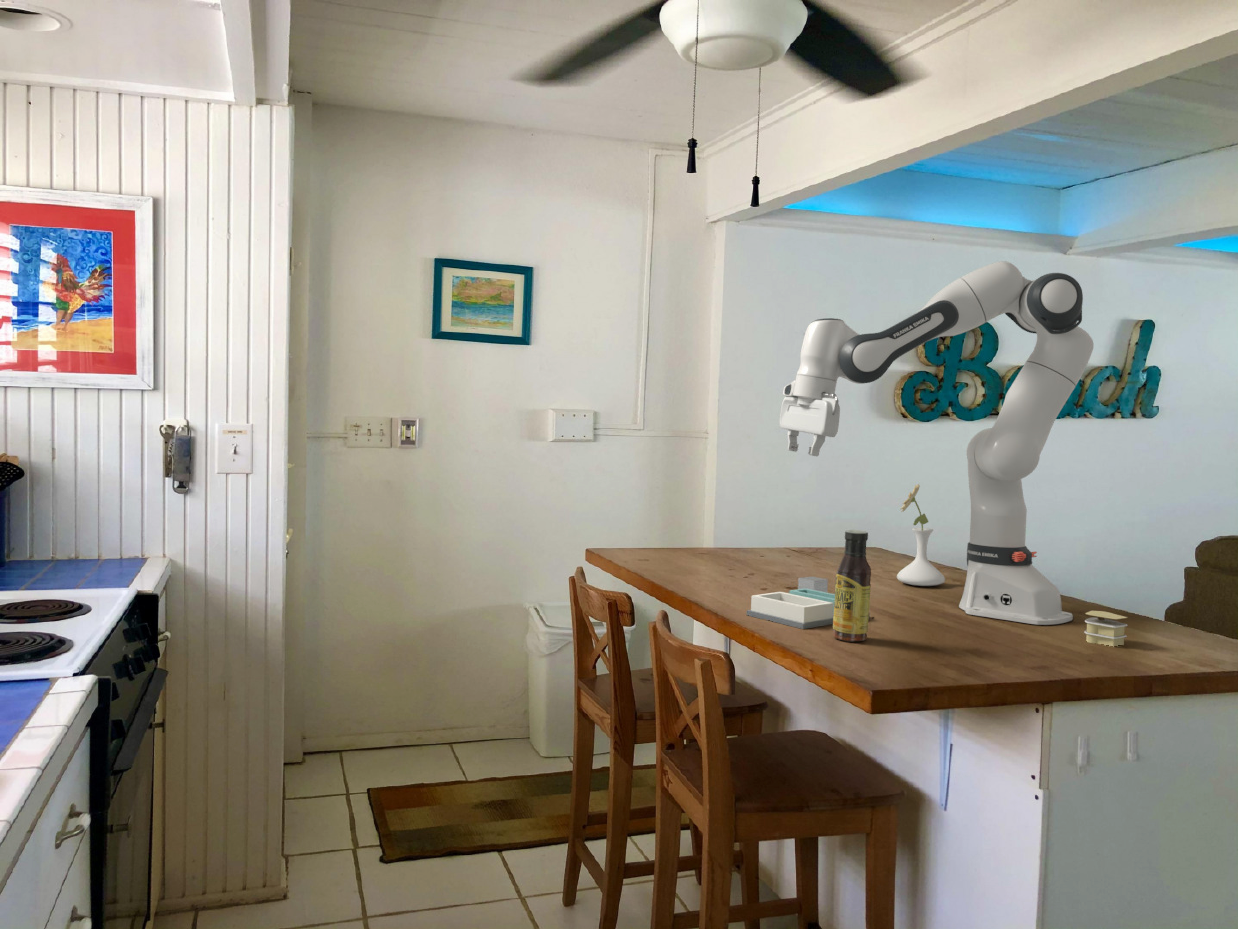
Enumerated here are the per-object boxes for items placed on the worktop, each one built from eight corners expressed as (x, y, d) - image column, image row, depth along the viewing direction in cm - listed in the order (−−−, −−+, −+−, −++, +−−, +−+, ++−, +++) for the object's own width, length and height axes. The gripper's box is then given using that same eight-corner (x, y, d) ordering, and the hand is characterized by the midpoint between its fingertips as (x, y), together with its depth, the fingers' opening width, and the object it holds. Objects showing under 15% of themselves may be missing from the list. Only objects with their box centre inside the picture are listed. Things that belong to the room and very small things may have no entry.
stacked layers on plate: (1143, 647, 177) (1145, 617, 177) (1115, 652, 173) (1116, 622, 172) (1092, 636, 186) (1093, 608, 186) (1063, 641, 181) (1065, 612, 181)
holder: (869, 617, 197) (870, 598, 196) (802, 629, 184) (803, 608, 184) (812, 605, 208) (813, 586, 208) (746, 615, 196) (747, 595, 196)
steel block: (827, 601, 213) (827, 579, 213) (813, 604, 210) (814, 581, 210) (811, 598, 217) (812, 576, 217) (797, 600, 214) (798, 578, 214)
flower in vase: (911, 579, 246) (915, 481, 245) (953, 586, 238) (957, 484, 237) (883, 584, 237) (887, 482, 236) (925, 591, 229) (930, 486, 228)
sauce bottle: (825, 636, 178) (829, 529, 177) (853, 634, 181) (857, 528, 180) (847, 644, 172) (851, 533, 171) (875, 642, 175) (880, 532, 174)
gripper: (851, 396, 204) (839, 460, 205) (804, 391, 223) (793, 450, 224) (825, 391, 202) (813, 456, 203) (780, 387, 221) (769, 446, 222)
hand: (802, 453), depth 214 cm, fingers open, 8 cm apart
